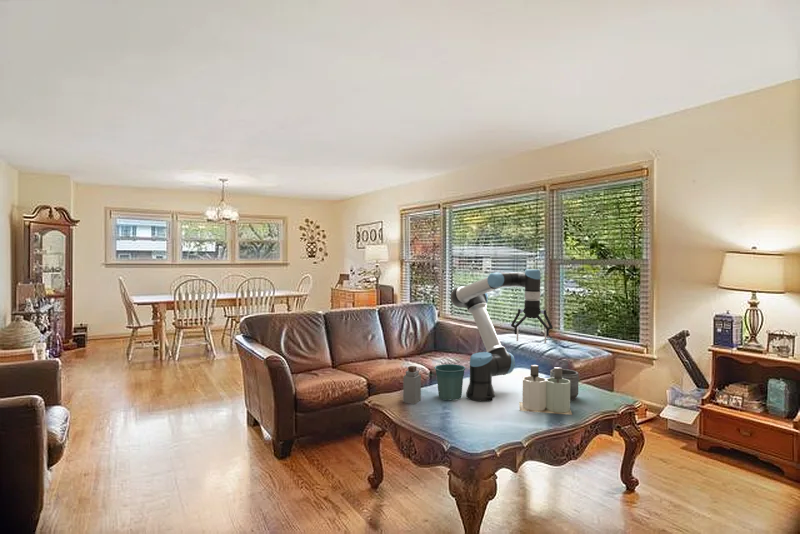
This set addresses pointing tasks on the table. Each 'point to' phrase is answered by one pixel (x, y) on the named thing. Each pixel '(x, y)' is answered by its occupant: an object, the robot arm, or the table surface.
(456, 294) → the robot arm
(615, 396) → the table surface
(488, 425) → the table surface
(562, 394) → the sage press
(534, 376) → the press plunger
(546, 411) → the board
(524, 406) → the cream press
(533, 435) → the table surface
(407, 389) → the perfume bottle
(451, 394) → the flower pot
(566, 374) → the planter
